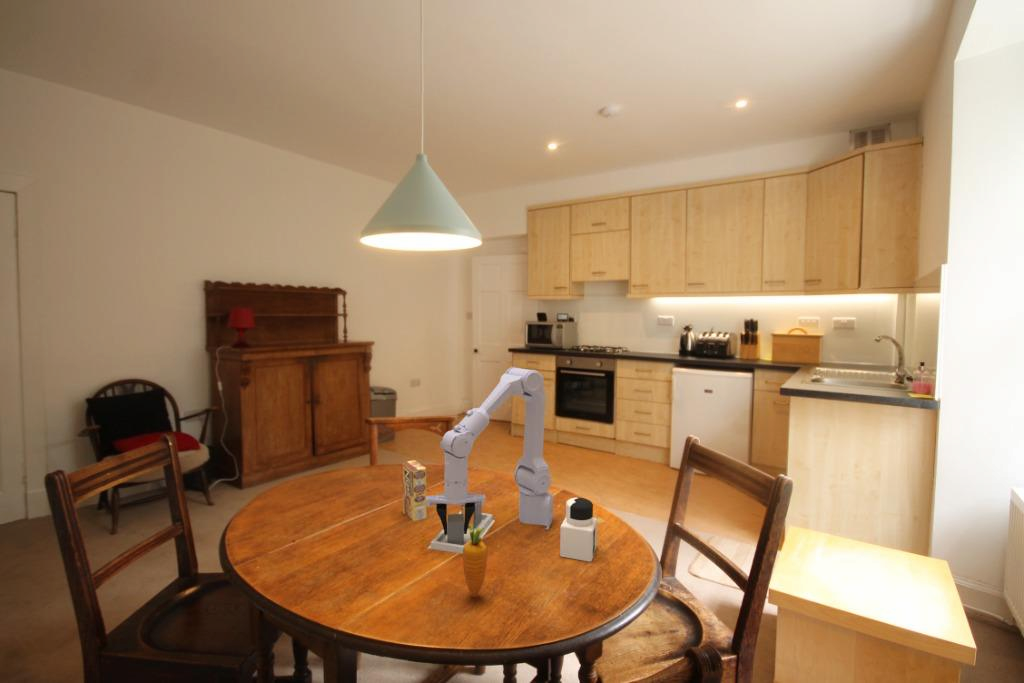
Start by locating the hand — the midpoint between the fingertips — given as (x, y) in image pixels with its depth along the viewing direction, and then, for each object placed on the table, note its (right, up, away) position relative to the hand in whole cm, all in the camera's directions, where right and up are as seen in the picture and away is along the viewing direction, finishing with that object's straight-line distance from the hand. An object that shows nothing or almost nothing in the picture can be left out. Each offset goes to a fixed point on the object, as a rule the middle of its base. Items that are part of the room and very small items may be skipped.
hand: (455, 532), depth 117 cm
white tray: (+1, -3, +5) cm, 7 cm away
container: (+31, -4, -2) cm, 31 cm away
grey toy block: (+3, -2, +11) cm, 12 cm away
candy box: (-14, -3, +17) cm, 22 cm away
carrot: (+6, -5, -21) cm, 22 cm away
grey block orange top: (0, -2, 0) cm, 2 cm away
